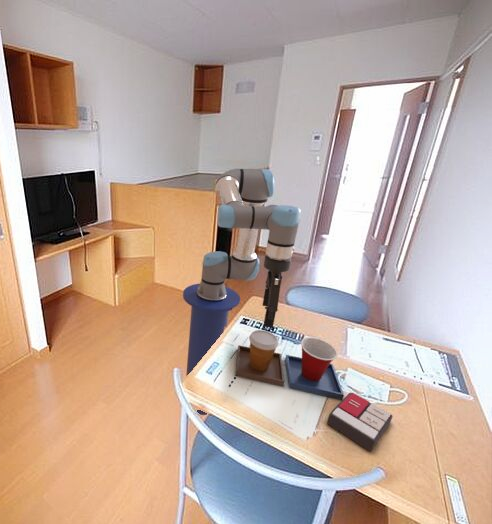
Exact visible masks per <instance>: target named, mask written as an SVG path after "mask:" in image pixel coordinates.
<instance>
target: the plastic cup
mask: <svg viewBox="0 0 492 524" xmlns="http://www.w3.org/2000/svg"><path fill="white" fill-rule="evenodd" d="M300 346H301V358H302V375H303V376H304V377H305V378H306V379H308V380H311V381H319V380H320V379H321V378H322V376H323V374H324V373H325V371H326V369H327V368H328V366H329V364H332V361H333V360H335V359H337V357H338V354H339V353H338V351H337V348H336V347H334V345H332V344H331V343H329V342H328V341H326V340H324V339H321V338H318V337H312V336H311V337H309V336H307V337H305V338H302V340H301V341H300ZM333 362H334V361H333Z"/></svg>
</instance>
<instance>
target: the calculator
mask: <svg viewBox="0 0 492 524" xmlns="http://www.w3.org/2000/svg"><path fill="white" fill-rule="evenodd" d="M393 417H394V416H393V414H392V413H391V412H389V411H388V410H386V409H383V408H382V407H380V406H379V405H376V404H375V403H372V402H370V400H368V399H366V398H363V397H362V396H360V395H358V394H356V393H354V392H349V393H347V395H346V396H345V397H343V399H342V400H341V401H340V402H339V403H338V404H337V405H336V406H335V407H334V409H332V411H330V412H329V415H328V418H327V420H326V423H327V425H329V426H330V427H332V428H333V429H335V430H336V431H338V432H339V433H341V434H343V435H344V436H345V437H347V438H349V440H352V441H353V442H354V443H356V444H358V445H359V446H361V447H362V448H364V449H365V450H366V451H368V452H372V451H373V449H375V447H376V445H377V443H378V442H379V440H380V439H381V437H382V436H383V434H384V433H385V431H386V430H387V428H388V427H389V425H390V424H391V423H392V419H393Z"/></svg>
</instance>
